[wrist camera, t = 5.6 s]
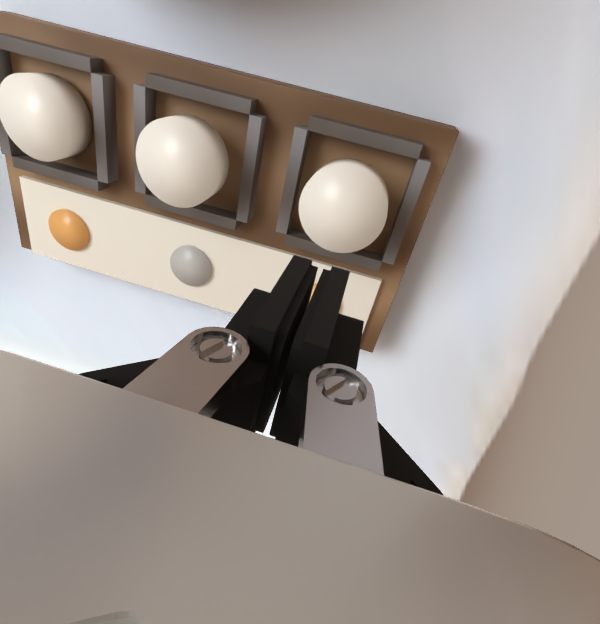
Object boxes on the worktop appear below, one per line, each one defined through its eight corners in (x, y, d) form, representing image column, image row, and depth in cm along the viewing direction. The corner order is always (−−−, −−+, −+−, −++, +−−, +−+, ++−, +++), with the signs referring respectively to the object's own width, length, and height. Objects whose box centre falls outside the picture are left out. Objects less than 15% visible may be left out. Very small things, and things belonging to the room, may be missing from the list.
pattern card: (23, 175, 24) (16, 177, 24) (381, 278, 23) (381, 282, 22) (35, 250, 27) (29, 253, 26) (356, 347, 25) (355, 352, 25)
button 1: (16, 63, 21) (-11, 63, 19) (88, 83, 20) (66, 84, 19) (28, 146, 23) (5, 150, 21) (94, 164, 22) (74, 170, 21)
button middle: (153, 104, 19) (134, 107, 18) (233, 126, 19) (220, 130, 18) (152, 187, 21) (136, 195, 20) (224, 207, 21) (212, 217, 20)
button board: (10, 12, 22) (-41, 4, 19) (454, 126, 20) (461, 134, 17) (44, 236, 29) (9, 252, 26) (374, 334, 27) (371, 362, 24)
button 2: (315, 147, 19) (308, 154, 17) (400, 170, 18) (400, 178, 17) (298, 228, 21) (291, 239, 19) (373, 250, 21) (371, 263, 19)
